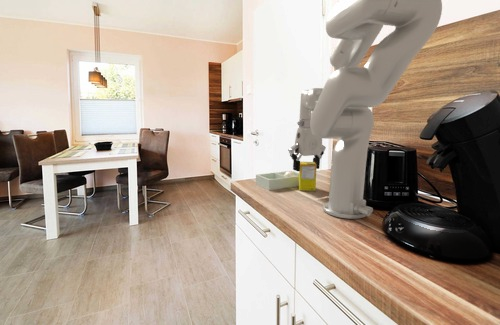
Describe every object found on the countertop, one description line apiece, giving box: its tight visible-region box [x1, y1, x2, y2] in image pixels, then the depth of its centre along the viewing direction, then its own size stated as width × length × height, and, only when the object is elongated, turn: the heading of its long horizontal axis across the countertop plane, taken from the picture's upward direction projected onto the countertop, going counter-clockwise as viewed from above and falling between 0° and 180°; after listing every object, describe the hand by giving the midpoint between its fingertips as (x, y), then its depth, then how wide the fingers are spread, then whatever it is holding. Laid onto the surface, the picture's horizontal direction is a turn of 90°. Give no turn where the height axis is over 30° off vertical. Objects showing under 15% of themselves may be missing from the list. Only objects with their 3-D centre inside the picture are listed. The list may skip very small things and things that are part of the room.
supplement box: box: [298, 161, 317, 192], centre depth 100 cm, size 6×6×11 cm
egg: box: [284, 170, 295, 177], centre depth 109 cm, size 5×5×5 cm
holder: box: [255, 170, 299, 191], centre depth 107 cm, size 10×18×5 cm, turn 119°
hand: (306, 169), depth 101 cm, fingers open, 9 cm apart
